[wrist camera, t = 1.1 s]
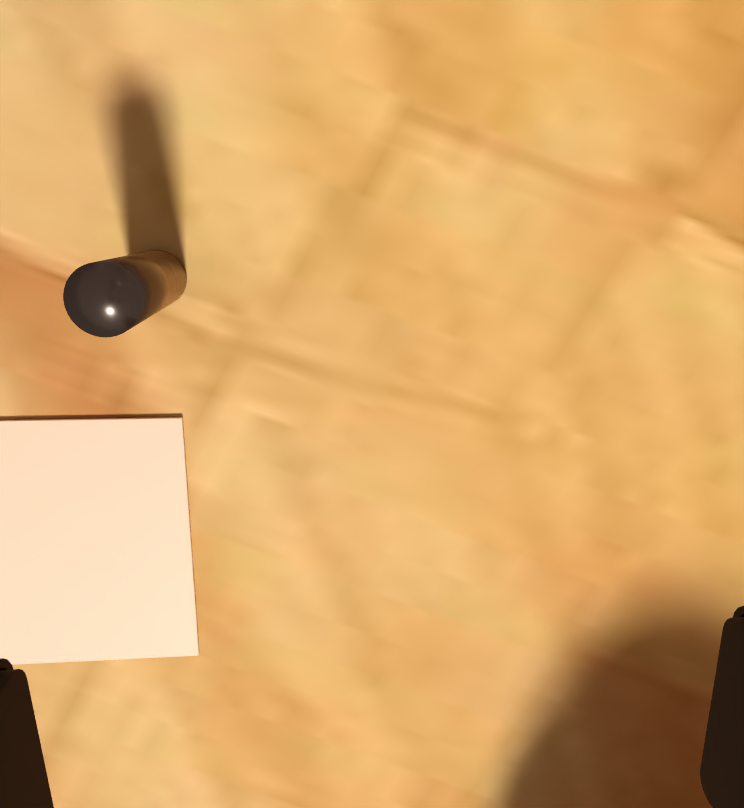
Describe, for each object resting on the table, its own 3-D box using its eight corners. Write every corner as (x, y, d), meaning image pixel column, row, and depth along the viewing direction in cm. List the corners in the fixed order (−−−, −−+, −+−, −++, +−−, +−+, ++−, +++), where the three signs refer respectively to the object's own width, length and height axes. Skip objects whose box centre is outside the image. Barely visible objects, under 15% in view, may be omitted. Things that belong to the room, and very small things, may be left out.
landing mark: (-110, 421, 32) (-112, 423, 32) (182, 417, 33) (181, 418, 33) (-62, 665, 36) (-64, 668, 36) (199, 653, 37) (198, 655, 37)
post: (128, 249, 31) (59, 262, 22) (184, 250, 31) (137, 262, 23) (133, 304, 32) (67, 337, 23) (188, 305, 32) (143, 337, 23)
